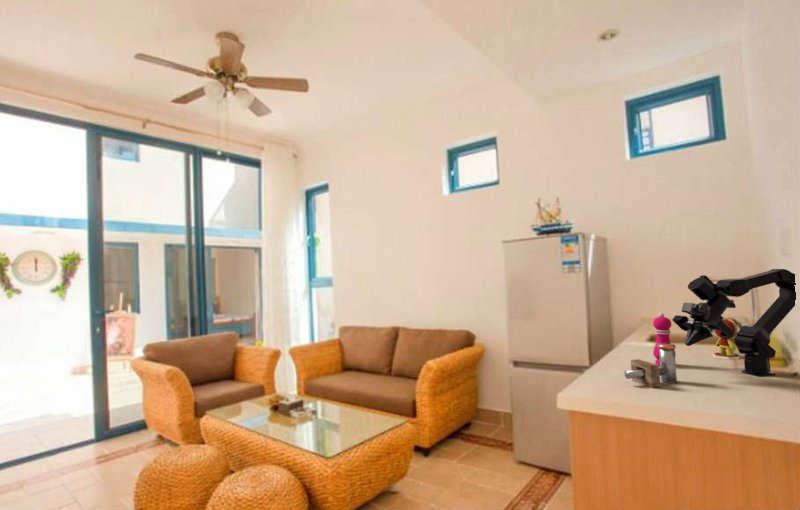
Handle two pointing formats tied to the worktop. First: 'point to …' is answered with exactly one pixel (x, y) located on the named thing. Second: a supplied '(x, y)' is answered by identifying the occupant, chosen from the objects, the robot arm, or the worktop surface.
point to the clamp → (661, 365)
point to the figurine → (726, 343)
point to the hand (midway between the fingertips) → (686, 345)
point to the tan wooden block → (647, 373)
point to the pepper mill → (661, 334)
